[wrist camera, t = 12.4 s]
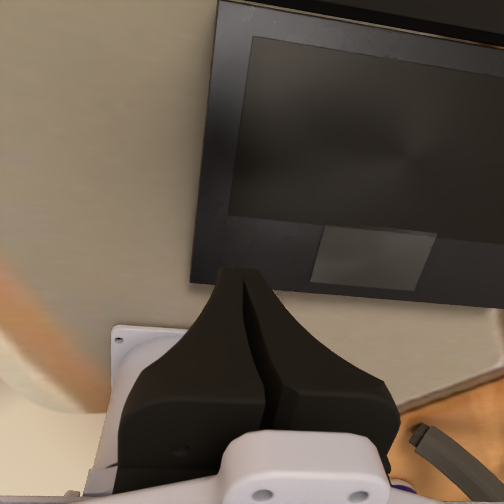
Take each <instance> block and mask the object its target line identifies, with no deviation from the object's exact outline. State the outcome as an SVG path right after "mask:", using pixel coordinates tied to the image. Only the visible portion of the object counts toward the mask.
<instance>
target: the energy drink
mask: <svg viewBox="0 0 504 504" xmlns="http://www.w3.org/2000/svg"><path fill="white" fill-rule="evenodd" d="M390 481H391V484H392V487H393V488H396V489H400V490H403V491H407V492H410V493H414V494H417V493H416V491H415V489H414V487H413V486H412V485H411V484H409V483H407V482H406V481H404V480H400V479H390Z"/></svg>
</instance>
